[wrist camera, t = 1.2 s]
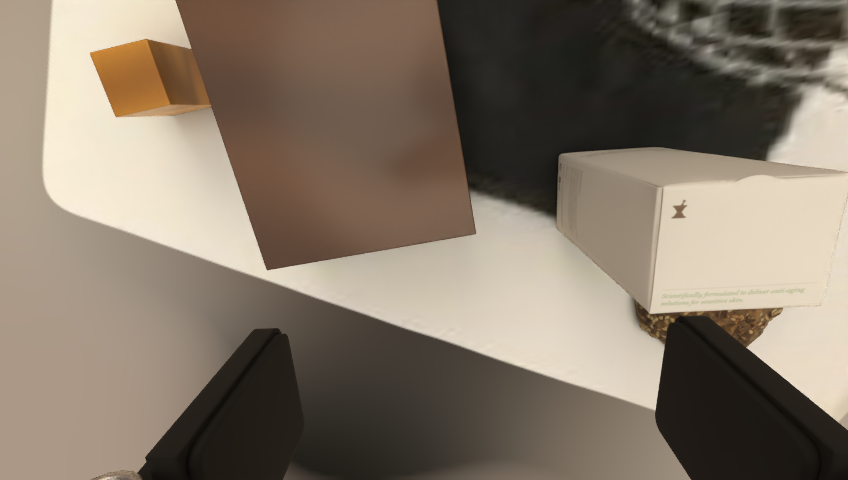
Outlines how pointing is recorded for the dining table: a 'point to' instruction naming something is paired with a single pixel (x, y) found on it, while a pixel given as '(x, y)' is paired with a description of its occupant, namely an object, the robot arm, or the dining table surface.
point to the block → (150, 79)
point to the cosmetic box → (703, 226)
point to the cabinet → (334, 122)
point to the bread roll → (735, 322)
